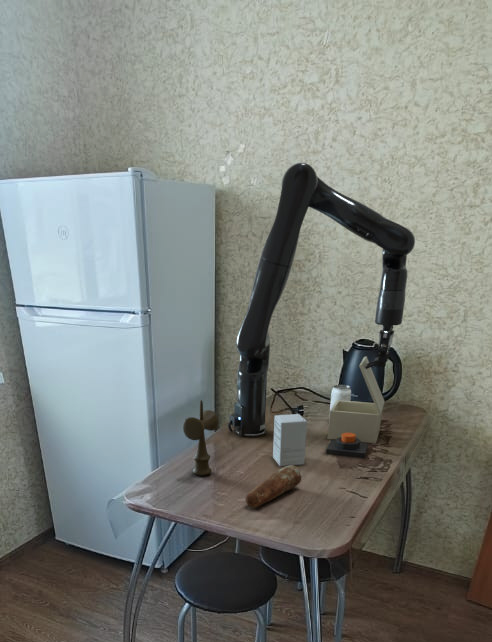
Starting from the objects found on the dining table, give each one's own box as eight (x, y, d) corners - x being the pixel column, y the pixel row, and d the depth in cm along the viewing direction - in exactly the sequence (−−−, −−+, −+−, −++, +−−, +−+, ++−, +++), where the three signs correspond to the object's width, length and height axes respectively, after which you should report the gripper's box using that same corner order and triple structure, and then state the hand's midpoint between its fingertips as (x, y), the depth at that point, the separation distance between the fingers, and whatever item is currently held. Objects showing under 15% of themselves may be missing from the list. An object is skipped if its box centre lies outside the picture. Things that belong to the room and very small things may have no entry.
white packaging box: (296, 456, 167) (299, 413, 161) (304, 465, 160) (308, 420, 154) (272, 457, 166) (274, 414, 160) (278, 466, 159) (281, 422, 153)
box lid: (359, 365, 168) (375, 358, 166) (363, 357, 180) (379, 350, 177) (378, 414, 172) (395, 407, 170) (382, 402, 184) (397, 396, 181)
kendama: (183, 477, 153) (181, 403, 143) (201, 466, 160) (200, 394, 151) (202, 481, 150) (202, 406, 141) (220, 469, 157) (220, 397, 148)
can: (325, 420, 198) (328, 385, 193) (340, 418, 201) (344, 383, 195) (336, 425, 193) (339, 389, 188) (352, 423, 195) (356, 387, 190)
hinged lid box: (327, 438, 181) (330, 410, 177) (333, 426, 192) (336, 400, 188) (375, 443, 176) (379, 415, 172) (379, 430, 188) (383, 403, 184)
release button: (340, 442, 167) (340, 435, 167) (342, 438, 171) (342, 431, 170) (354, 444, 166) (355, 437, 165) (355, 440, 170) (356, 433, 169)
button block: (325, 454, 168) (326, 443, 166) (330, 444, 175) (331, 433, 174) (364, 458, 165) (365, 446, 163) (367, 448, 172) (368, 437, 171)
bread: (302, 487, 146) (304, 467, 143) (258, 512, 133) (259, 490, 130) (281, 481, 150) (282, 461, 147) (236, 505, 137) (237, 483, 134)
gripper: (402, 309, 158) (394, 369, 165) (405, 304, 170) (396, 360, 177) (374, 309, 160) (367, 368, 167) (378, 303, 172) (371, 359, 179)
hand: (382, 364), depth 172 cm, fingers open, 8 cm apart
